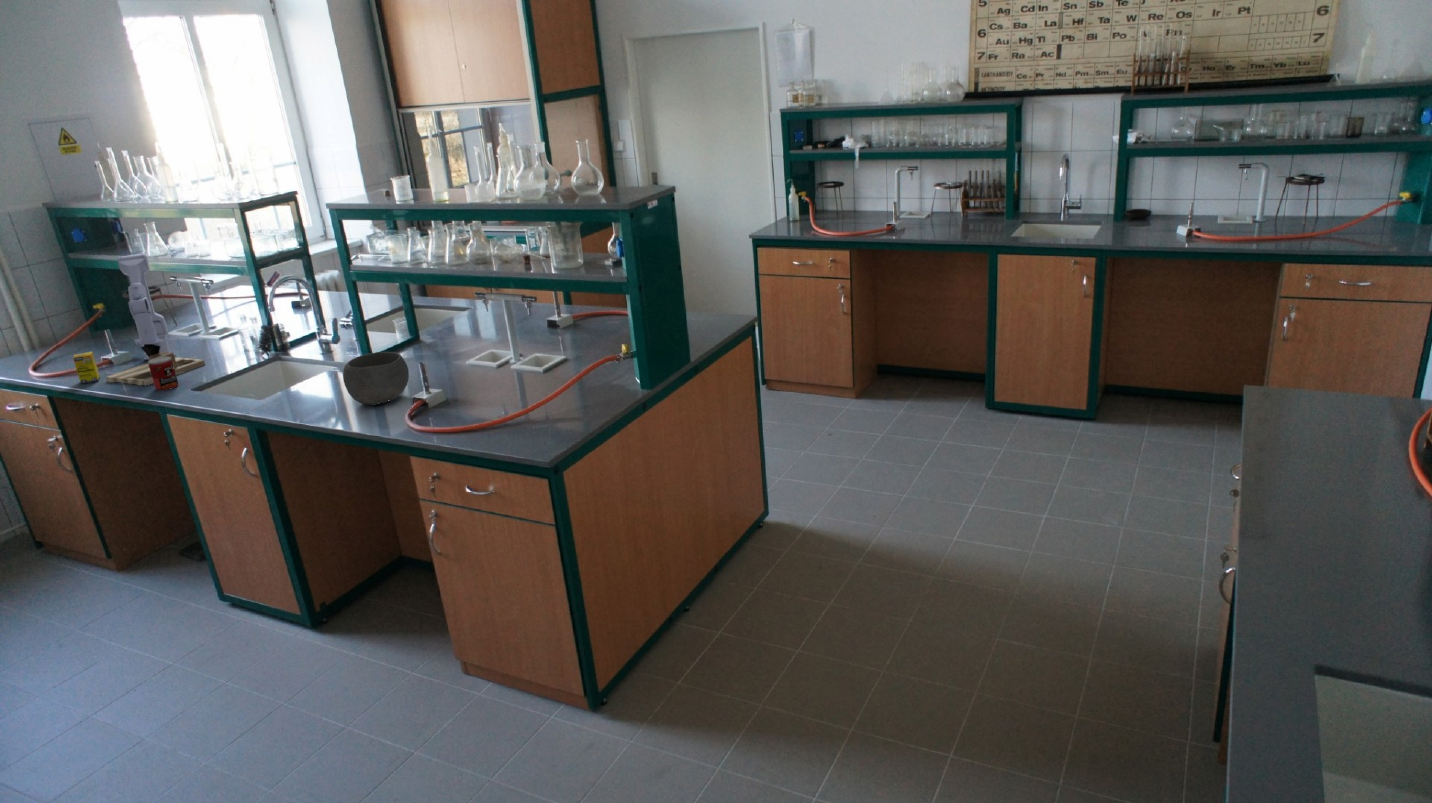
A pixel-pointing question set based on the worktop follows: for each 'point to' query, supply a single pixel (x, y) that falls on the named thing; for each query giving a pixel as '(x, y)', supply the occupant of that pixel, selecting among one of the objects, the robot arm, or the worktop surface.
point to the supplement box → (86, 367)
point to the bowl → (376, 377)
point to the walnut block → (165, 355)
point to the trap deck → (143, 373)
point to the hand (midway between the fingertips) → (155, 362)
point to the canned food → (163, 373)
